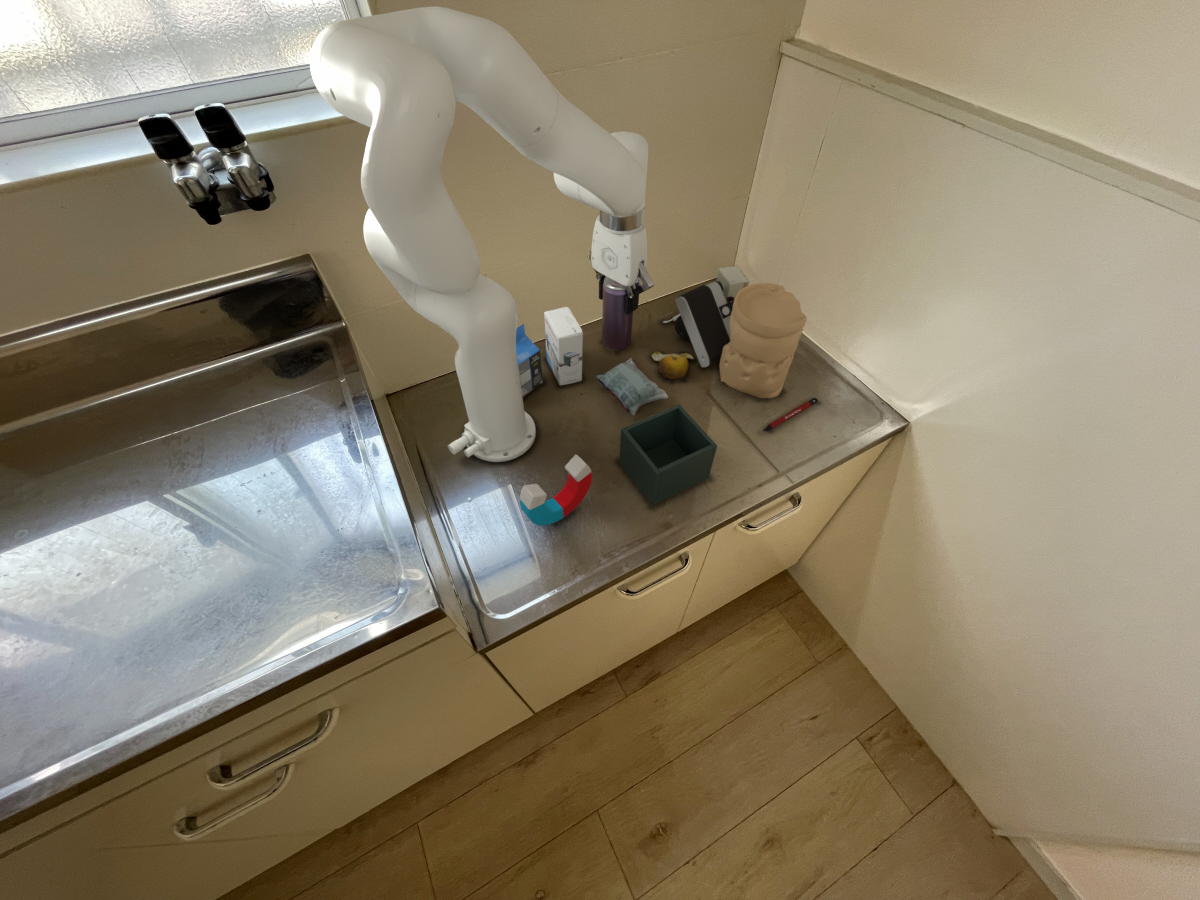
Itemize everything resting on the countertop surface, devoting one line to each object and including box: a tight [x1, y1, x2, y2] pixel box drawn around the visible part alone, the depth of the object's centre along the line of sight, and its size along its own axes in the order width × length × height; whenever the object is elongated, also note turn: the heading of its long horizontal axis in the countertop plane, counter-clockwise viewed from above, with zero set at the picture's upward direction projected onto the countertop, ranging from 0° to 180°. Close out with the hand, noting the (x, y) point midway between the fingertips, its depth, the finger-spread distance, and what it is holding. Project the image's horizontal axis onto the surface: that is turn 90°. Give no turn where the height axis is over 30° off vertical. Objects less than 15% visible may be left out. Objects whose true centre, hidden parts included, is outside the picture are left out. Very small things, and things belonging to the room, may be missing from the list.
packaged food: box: [595, 357, 669, 417], centre depth 106 cm, size 9×12×5 cm
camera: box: [674, 280, 733, 368], centre depth 114 cm, size 15×11×10 cm
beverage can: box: [601, 276, 635, 352], centre depth 112 cm, size 6×6×15 cm
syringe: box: [660, 308, 681, 324], centre depth 123 cm, size 10×2×2 cm
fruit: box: [651, 351, 694, 380], centre depth 111 cm, size 8×8×4 cm
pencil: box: [762, 397, 819, 432], centre depth 104 cm, size 1×14×1 cm, turn 125°
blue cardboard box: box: [516, 323, 544, 398], centre depth 103 cm, size 9×4×12 cm, turn 140°
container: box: [718, 282, 808, 399], centre depth 103 cm, size 13×13×18 cm
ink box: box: [543, 306, 584, 386], centre depth 108 cm, size 9×5×12 cm, turn 22°
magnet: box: [519, 454, 593, 527], centre depth 87 cm, size 12×3×10 cm, turn 129°
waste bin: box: [618, 403, 718, 507], centre depth 93 cm, size 11×10×9 cm
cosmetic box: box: [715, 265, 750, 303], centre depth 117 cm, size 6×4×12 cm
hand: (618, 302), depth 110 cm, fingers closed on beverage can, 6 cm apart
